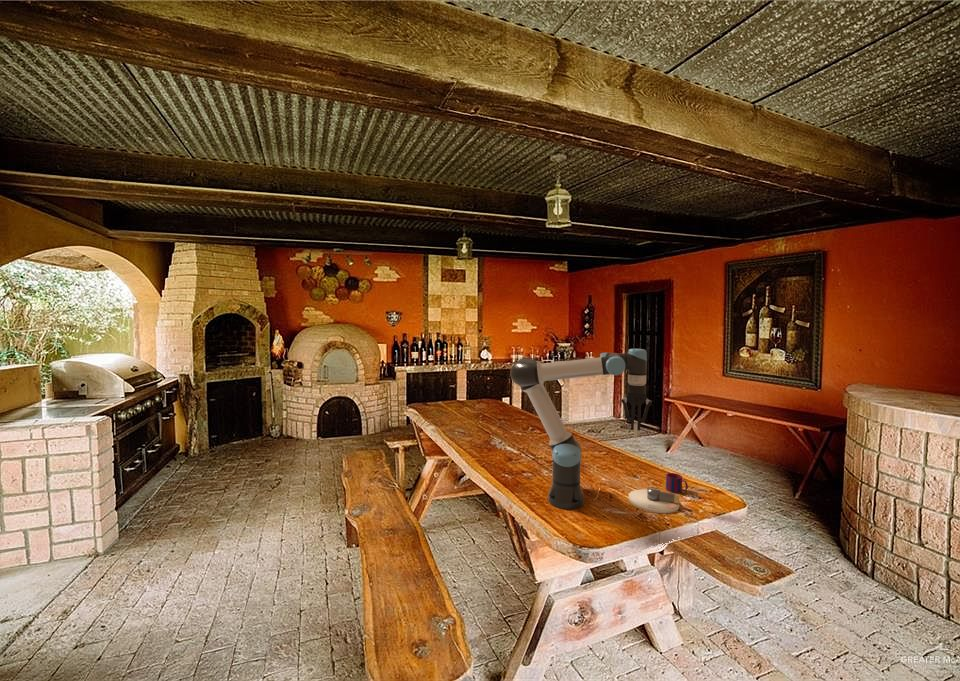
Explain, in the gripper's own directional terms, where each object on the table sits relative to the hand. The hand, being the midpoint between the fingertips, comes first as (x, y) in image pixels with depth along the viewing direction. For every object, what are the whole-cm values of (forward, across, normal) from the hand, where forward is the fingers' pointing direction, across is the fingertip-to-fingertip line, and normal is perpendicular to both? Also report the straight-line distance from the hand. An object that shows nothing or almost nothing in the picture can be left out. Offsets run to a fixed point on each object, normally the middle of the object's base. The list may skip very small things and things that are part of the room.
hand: (635, 437), depth 184 cm
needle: (+25, +12, -4) cm, 28 cm away
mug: (+27, +18, +12) cm, 34 cm away
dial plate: (+26, +8, -4) cm, 28 cm away
